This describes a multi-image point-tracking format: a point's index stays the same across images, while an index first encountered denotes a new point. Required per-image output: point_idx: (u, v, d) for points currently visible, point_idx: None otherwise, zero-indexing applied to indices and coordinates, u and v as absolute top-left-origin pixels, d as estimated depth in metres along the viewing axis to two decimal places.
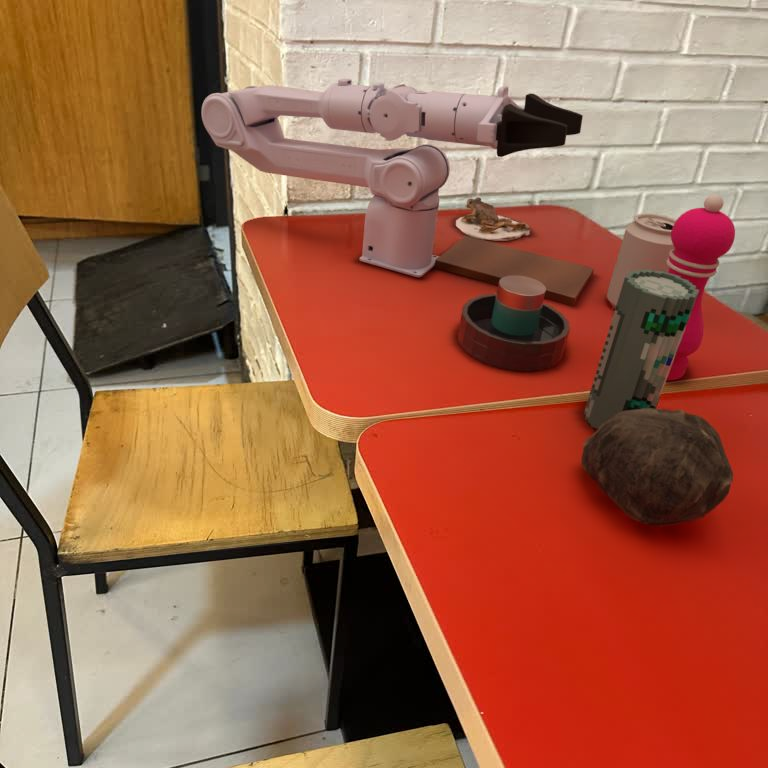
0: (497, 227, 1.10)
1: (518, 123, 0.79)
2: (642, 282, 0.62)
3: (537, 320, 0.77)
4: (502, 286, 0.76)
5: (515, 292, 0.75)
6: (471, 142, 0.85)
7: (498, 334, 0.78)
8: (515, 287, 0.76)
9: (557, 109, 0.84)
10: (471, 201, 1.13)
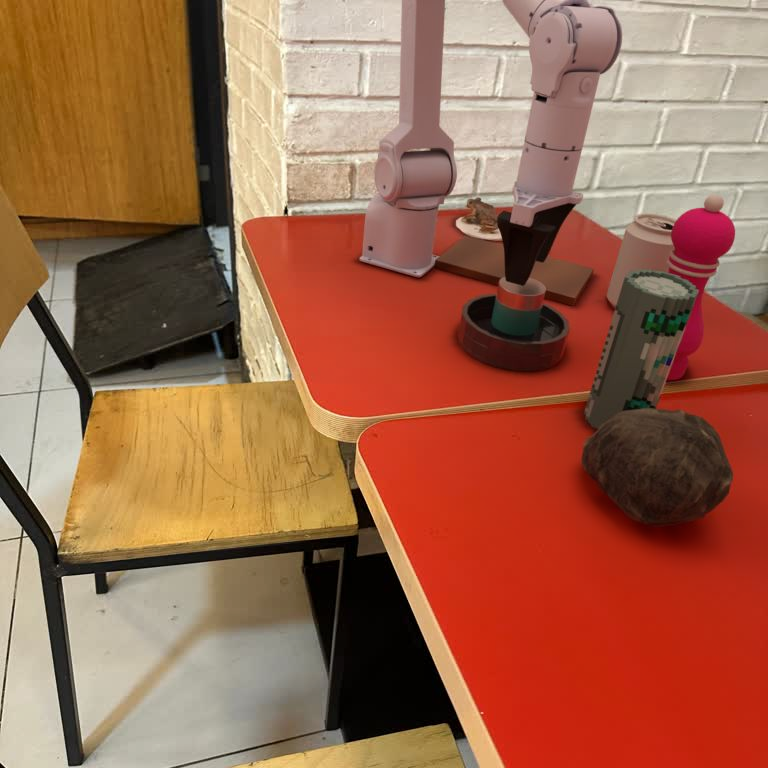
0: (497, 227, 1.10)
1: (532, 237, 0.69)
2: (642, 282, 0.62)
3: (537, 320, 0.77)
4: (502, 286, 0.76)
5: (515, 292, 0.75)
6: (522, 160, 0.69)
7: (498, 334, 0.78)
8: (515, 287, 0.76)
9: (553, 237, 0.77)
10: (471, 201, 1.13)
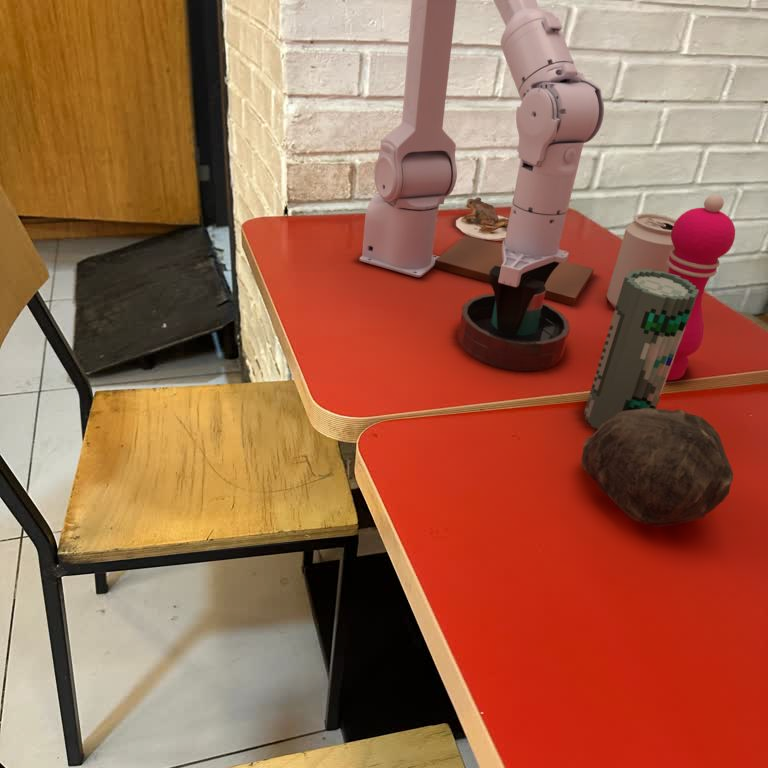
0: (497, 227, 1.10)
1: (522, 291, 0.73)
2: (642, 282, 0.62)
3: (537, 320, 0.77)
4: None
5: None
6: (510, 221, 0.72)
7: (498, 334, 0.78)
8: None
9: None
10: (471, 201, 1.13)
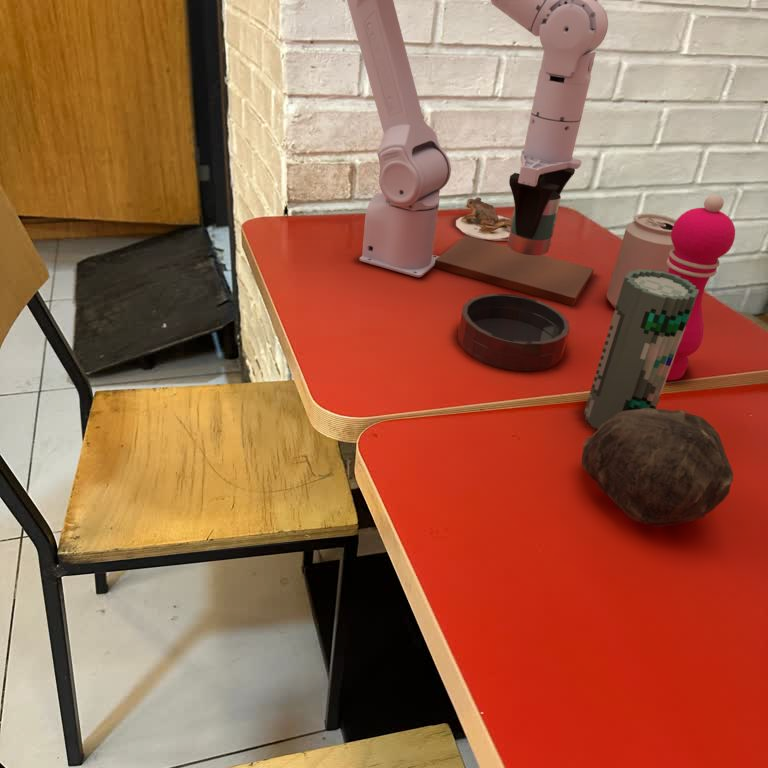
0: (497, 227, 1.10)
1: (539, 195, 0.81)
2: (642, 282, 0.62)
3: (552, 226, 0.85)
4: None
5: None
6: (529, 131, 0.80)
7: (516, 240, 0.86)
8: None
9: None
10: (471, 201, 1.13)
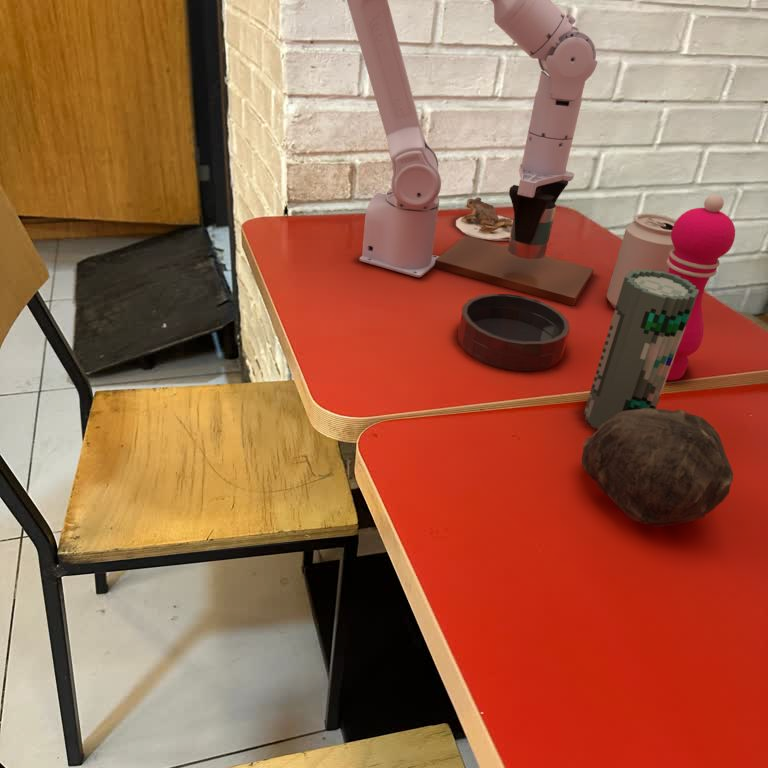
0: (497, 227, 1.10)
1: (536, 204, 0.90)
2: (642, 282, 0.62)
3: (548, 232, 0.94)
4: None
5: None
6: (526, 147, 0.89)
7: (516, 245, 0.95)
8: None
9: None
10: (471, 201, 1.13)
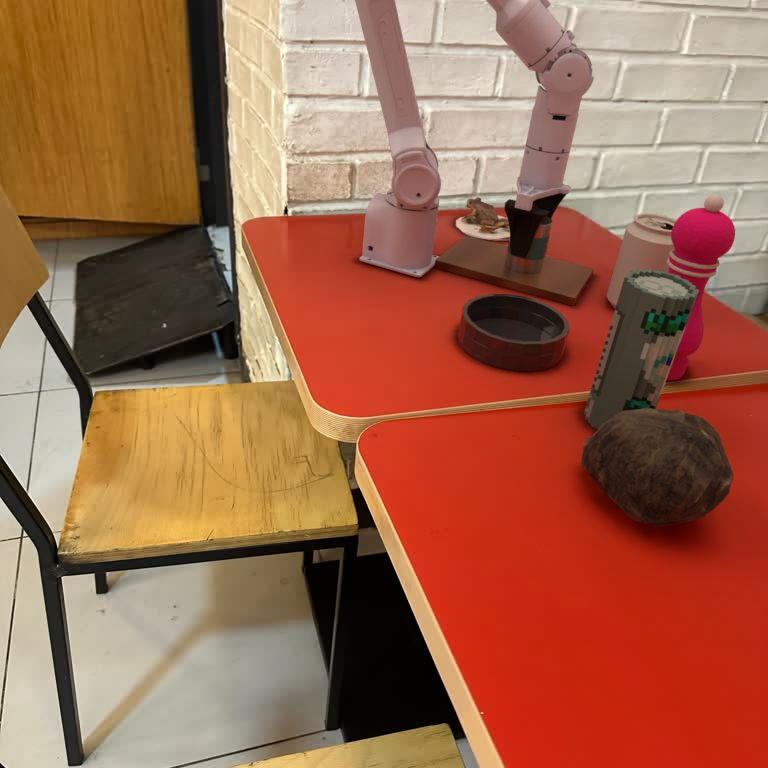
0: (497, 227, 1.10)
1: (531, 219, 0.90)
2: (642, 282, 0.62)
3: (545, 247, 0.95)
4: None
5: None
6: (524, 160, 0.90)
7: (513, 259, 0.96)
8: None
9: None
10: (471, 201, 1.13)
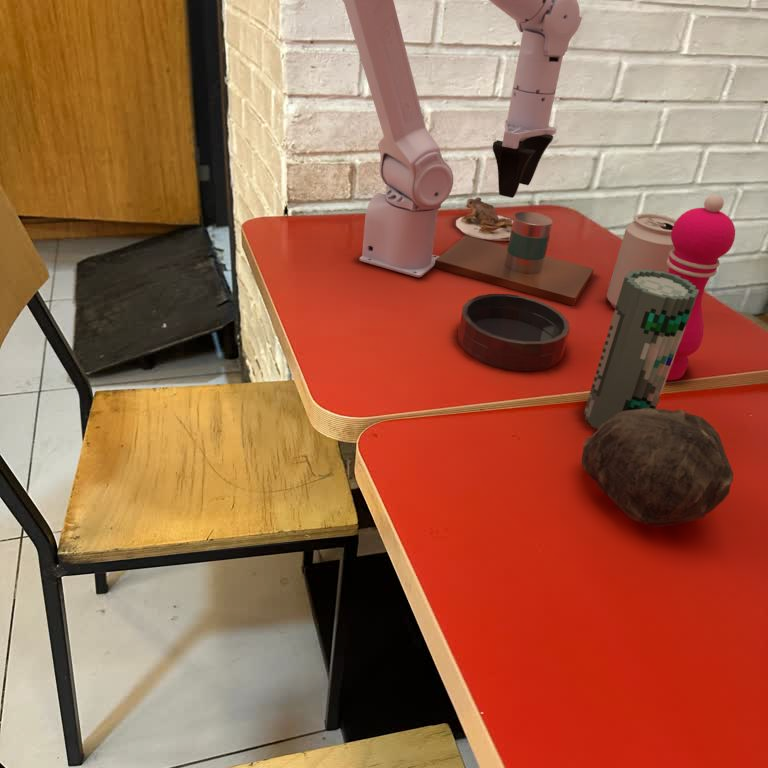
0: (497, 227, 1.10)
1: (518, 159, 0.94)
2: (642, 282, 0.62)
3: (545, 247, 0.95)
4: (517, 218, 0.94)
5: (528, 222, 0.93)
6: (511, 102, 0.94)
7: (513, 259, 0.96)
8: (527, 219, 0.94)
9: (535, 164, 1.01)
10: (471, 201, 1.13)
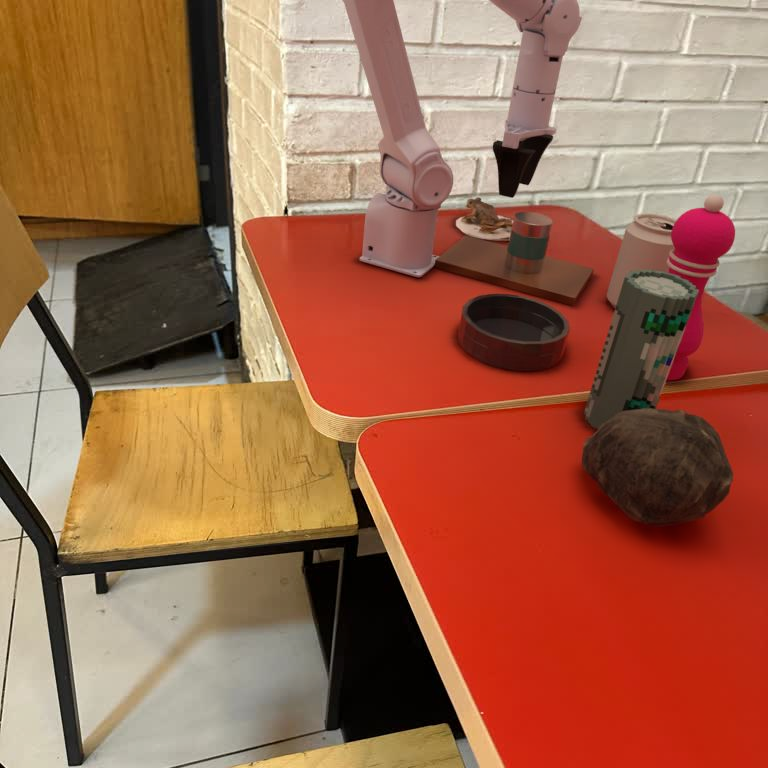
0: (497, 227, 1.10)
1: (518, 159, 0.94)
2: (642, 282, 0.62)
3: (545, 247, 0.95)
4: (517, 218, 0.94)
5: (528, 222, 0.93)
6: (511, 102, 0.94)
7: (513, 259, 0.96)
8: (527, 219, 0.94)
9: (535, 164, 1.01)
10: (471, 201, 1.13)
